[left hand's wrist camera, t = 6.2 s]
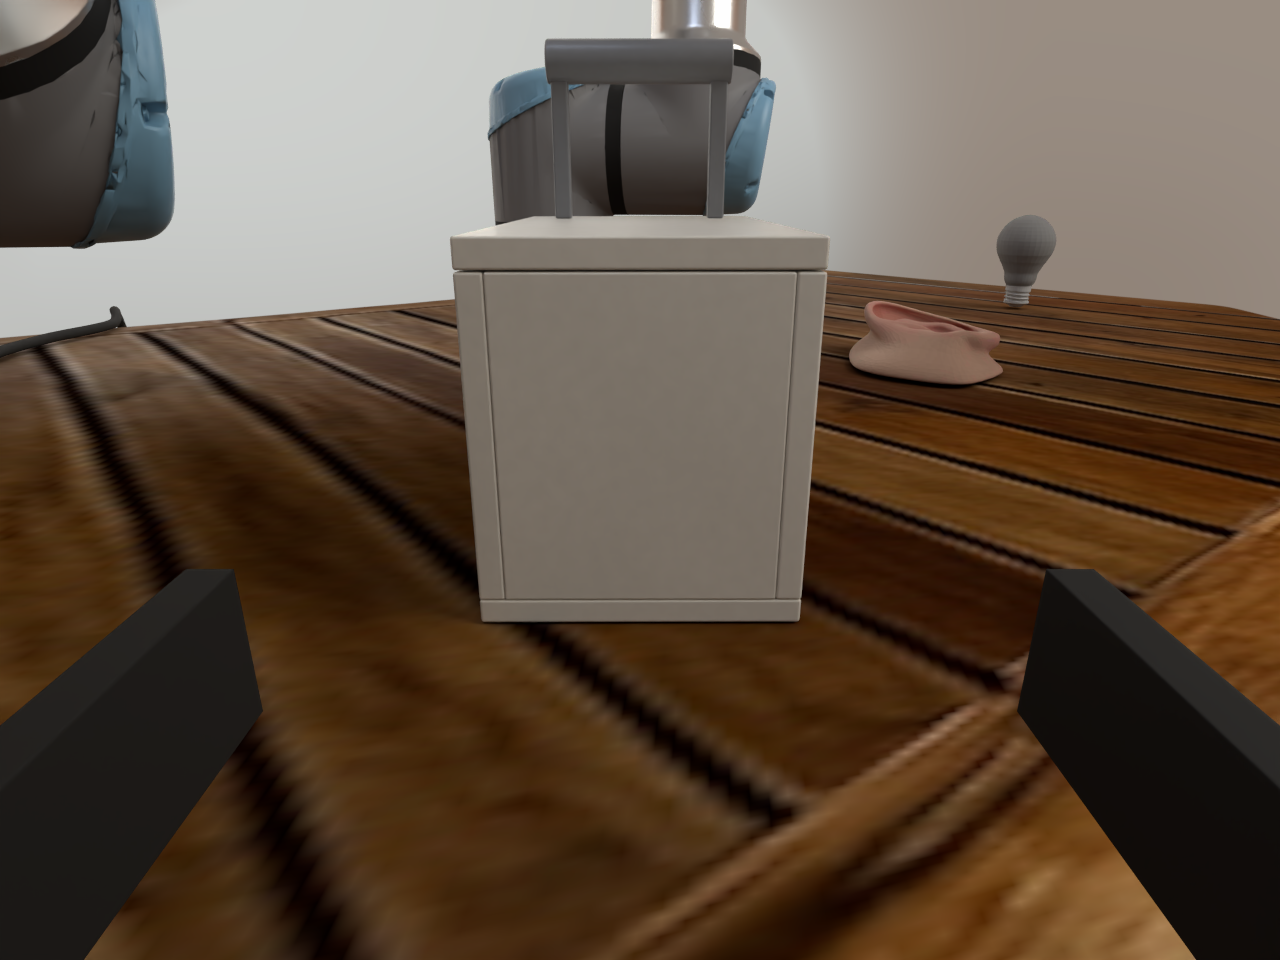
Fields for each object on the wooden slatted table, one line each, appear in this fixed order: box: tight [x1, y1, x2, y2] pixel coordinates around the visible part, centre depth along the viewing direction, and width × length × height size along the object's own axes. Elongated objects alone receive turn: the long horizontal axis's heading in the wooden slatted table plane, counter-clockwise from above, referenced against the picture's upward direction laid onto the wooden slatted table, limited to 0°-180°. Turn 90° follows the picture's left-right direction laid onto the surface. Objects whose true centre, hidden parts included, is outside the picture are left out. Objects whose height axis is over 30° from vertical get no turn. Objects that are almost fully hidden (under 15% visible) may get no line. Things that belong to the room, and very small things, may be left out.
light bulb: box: [997, 215, 1056, 307], centre depth 88 cm, size 6×6×10 cm
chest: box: [453, 270, 827, 622], centre depth 31 cm, size 17×10×11 cm, turn 0°
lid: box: [450, 38, 830, 270], centre depth 28 cm, size 17×10×8 cm, turn 0°
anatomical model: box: [849, 301, 1003, 385], centre depth 60 cm, size 13×4×12 cm
